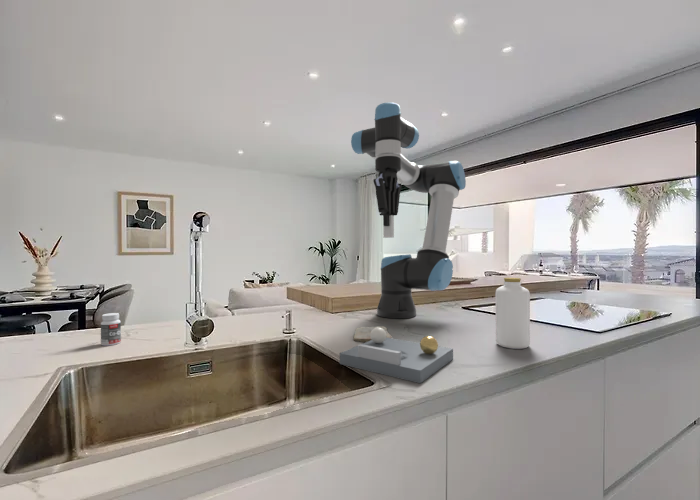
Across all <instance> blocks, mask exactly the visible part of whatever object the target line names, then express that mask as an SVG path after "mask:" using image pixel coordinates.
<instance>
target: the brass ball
mask: <svg viewBox="0 0 700 500" xmlns="http://www.w3.org/2000/svg"><path fill="white" fill-rule="evenodd" d="M419 343H420V348H421V350H422V351H423V352H424V353H426V354H433V353H435V352H436V351H437V349H438V346H439V342H438V341H437V339H436V337H434V336H432V335H426V336H424V337H423V338H421V339H420V342H419Z"/></svg>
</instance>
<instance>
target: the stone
mask: <svg viewBox="0 0 700 500" xmlns="http://www.w3.org/2000/svg"><path fill="white" fill-rule="evenodd" d="M376 327H380V328H383V329H384V330H385V332H386V337H387V338H393V336H392V335H391V334H390V333H389V332H388V328H387V327H386V326H381V325H380V326H378V325H377V326H360V327H357V328H355V330H354V331H355V333H354V334H353V335H354V336H353V341H355V342H359V343H360V342H362V343H366V342H368V341H371V340H372V339H371V337H370V334H371V331H372V330H373V329H374V328H376Z"/></svg>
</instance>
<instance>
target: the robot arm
mask: <svg viewBox="0 0 700 500" xmlns="http://www.w3.org/2000/svg"><path fill="white" fill-rule="evenodd" d="M401 115H402V111H401V106H400V105H399V104H398V103H396V102H391V101H389V102H388V101H387V102H381V103H380V104H378V105H377V106H376V107H375V111H374V119H373V120H374V127H371V128H366V129H361V130H359V131H356V132H353V134H352V135H351V139H350V143H351V148H352V150H353V152H354V153H355V154H357V155H360V154H362V155H363V154H367V155H368V156H370V157H371V158H372V159H374V161H375V162H374V164H375V165H374V166H375V169H374V170H375V172H376V173H378V177H377V178H374V179H373V180H372V181H373V184H374V187H375V194H376V195H375V196H376V203H377V208H378V210H377V211H378V213H379V216H383V217H382V221H383V224H382V225H383V233H382V234H383V238H385V239H386V238H395V234H394V233H395V216H397V215H398V214H399V213H398V212H399V205H400V196H401V190H402V187H403V186H404V187H407V188H408V189H410V190H413V191H415V192H418V193H423V194H424V193H425V194H427V193H429V195H430V196H431V199H430V205H429V209H428V215H427V220H426V221H427V222H426V226H425V232H424V237H423V244H422V248H421V249H418V251H417V253H416V257H412V255H411V253H410V254H409V253H408V254H397V255H391V256H385V257H383V258H382V259H381V265H380V278H381V279H380V280H381V281H380V282H381V284H380V286H381V288H380V291H381V292H380V297H379V301H378V305H377V308H376V315H377V316H379V317H382V318H387V319H408V318H409V319H410V318H414V317H416V315H417V309H416V305H415V302H414V299H413V295H412V290H424V291H433V292H434V291H444V290H446V289H447V288H448V287H449V285H450V283H451V281H452V279H453V273H454V269H453V268H454V267H453V266H454V265H453V261H452V260H451V259H450V256H449V255H448V253H447V245H448V239H449V232H450V224H451V219H452V213H453V208H454V201H455V199H457V197H458V196H459V195H460V191H462V190H465V188H466V185H467V184H466V174H465V170H464V166H463V165H462V163H461V162H460V161H459V160H448V161H445V162H438V163H429V164H424V165H423V164H422V165H421V164H417V163H415V162H411V161H410V160H409V159H407V158H406V157H405V156H404V155H403V154H402V152H401V151H402V150H401V149H402V148H403V149H412V148H414V147H415V146H416V144H417V143H418V142H419V138H420V133H419V130H418V128H417V127H416V126H414V124H413V123H411V122H409V121H407V120H405V119H404V118H403V117H402V116H401ZM398 181H399V182H398ZM402 185H403V186H402Z"/></svg>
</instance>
